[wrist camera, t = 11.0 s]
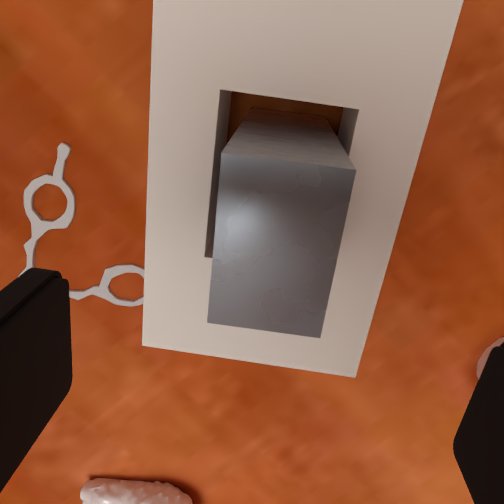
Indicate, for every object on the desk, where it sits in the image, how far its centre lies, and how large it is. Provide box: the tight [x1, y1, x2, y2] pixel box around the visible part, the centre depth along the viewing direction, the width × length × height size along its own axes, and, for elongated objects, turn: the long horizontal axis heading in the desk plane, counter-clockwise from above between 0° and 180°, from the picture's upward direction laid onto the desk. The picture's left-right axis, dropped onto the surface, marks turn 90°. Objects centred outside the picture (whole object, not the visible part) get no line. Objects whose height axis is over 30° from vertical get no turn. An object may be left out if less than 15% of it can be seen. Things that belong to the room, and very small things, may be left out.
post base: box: [142, 0, 464, 378], centre depth 23 cm, size 12×20×5 cm, turn 173°
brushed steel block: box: [207, 107, 356, 338], centre depth 20 cm, size 4×6×12 cm, turn 174°
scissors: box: [17, 143, 145, 306], centre depth 30 cm, size 11×1×20 cm
